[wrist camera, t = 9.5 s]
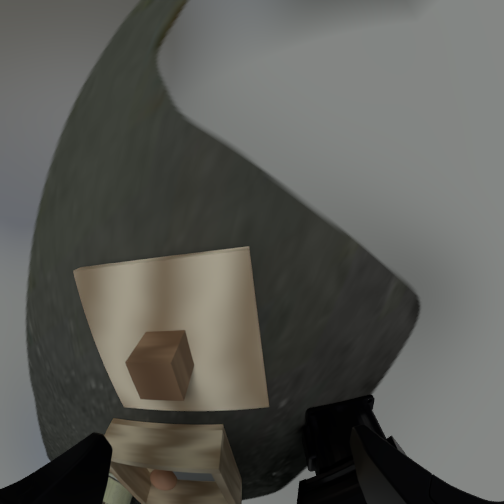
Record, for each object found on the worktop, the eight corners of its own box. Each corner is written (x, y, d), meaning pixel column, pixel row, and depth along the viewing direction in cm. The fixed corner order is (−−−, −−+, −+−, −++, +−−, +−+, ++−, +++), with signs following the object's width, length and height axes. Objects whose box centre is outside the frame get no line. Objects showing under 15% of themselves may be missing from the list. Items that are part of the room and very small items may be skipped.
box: (222, 424, 22) (218, 469, 16) (241, 479, 24) (241, 514, 19) (113, 418, 22) (95, 453, 16) (151, 474, 24) (142, 505, 19)
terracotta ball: (174, 464, 22) (169, 484, 19) (182, 476, 23) (178, 496, 20) (149, 461, 22) (142, 480, 19) (158, 474, 23) (153, 492, 20)
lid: (249, 244, 18) (249, 267, 13) (267, 393, 21) (272, 443, 15) (85, 264, 18) (40, 288, 13) (130, 395, 21) (109, 436, 16)
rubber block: (210, 439, 21) (206, 462, 18) (218, 459, 22) (216, 481, 19) (171, 438, 21) (165, 460, 18) (182, 458, 22) (177, 479, 19)
